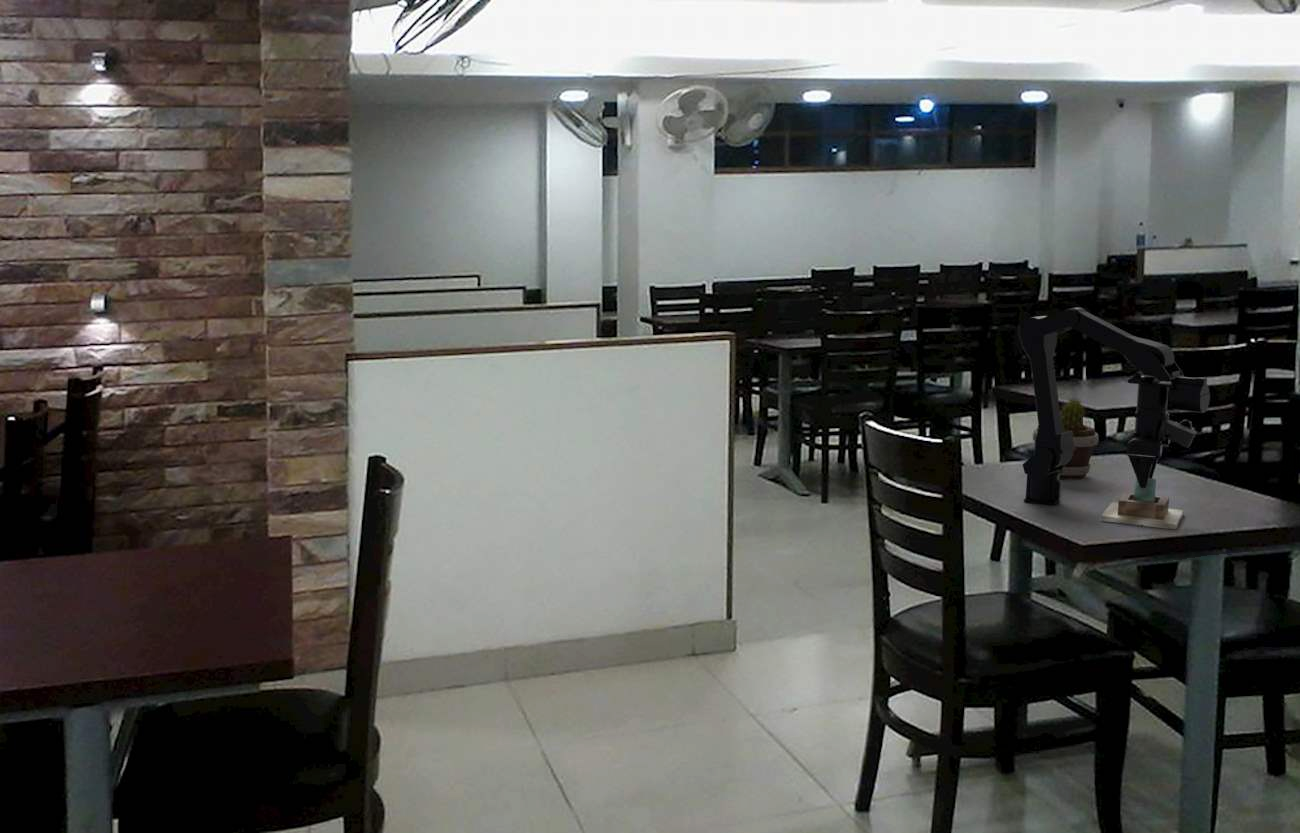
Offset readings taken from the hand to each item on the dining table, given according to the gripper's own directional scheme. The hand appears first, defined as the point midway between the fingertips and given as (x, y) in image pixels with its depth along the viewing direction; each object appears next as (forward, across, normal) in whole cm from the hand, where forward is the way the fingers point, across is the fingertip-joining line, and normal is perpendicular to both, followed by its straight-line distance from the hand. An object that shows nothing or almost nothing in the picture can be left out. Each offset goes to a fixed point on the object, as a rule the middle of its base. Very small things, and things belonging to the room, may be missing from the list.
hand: (1146, 483), depth 260 cm
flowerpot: (+7, +35, +22) cm, 42 cm away
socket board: (+7, 0, 0) cm, 7 cm away
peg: (+6, 0, 0) cm, 6 cm away
